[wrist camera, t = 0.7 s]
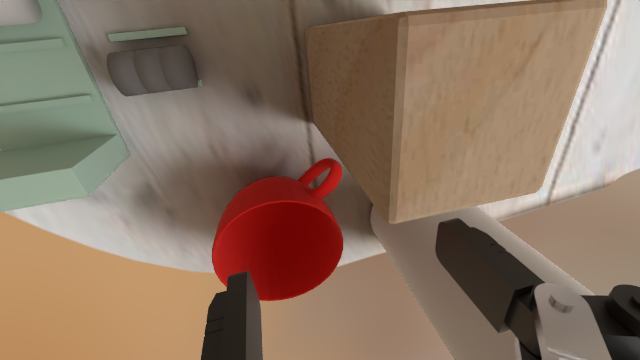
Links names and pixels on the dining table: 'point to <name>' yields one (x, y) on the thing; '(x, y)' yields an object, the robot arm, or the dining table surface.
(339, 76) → the wooden block
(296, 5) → the dining table surface
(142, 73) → the roller
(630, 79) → the dining table surface
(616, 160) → the dining table surface
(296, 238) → the ceramic cup
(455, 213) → the cylinder vase
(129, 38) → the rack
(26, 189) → the roller track
